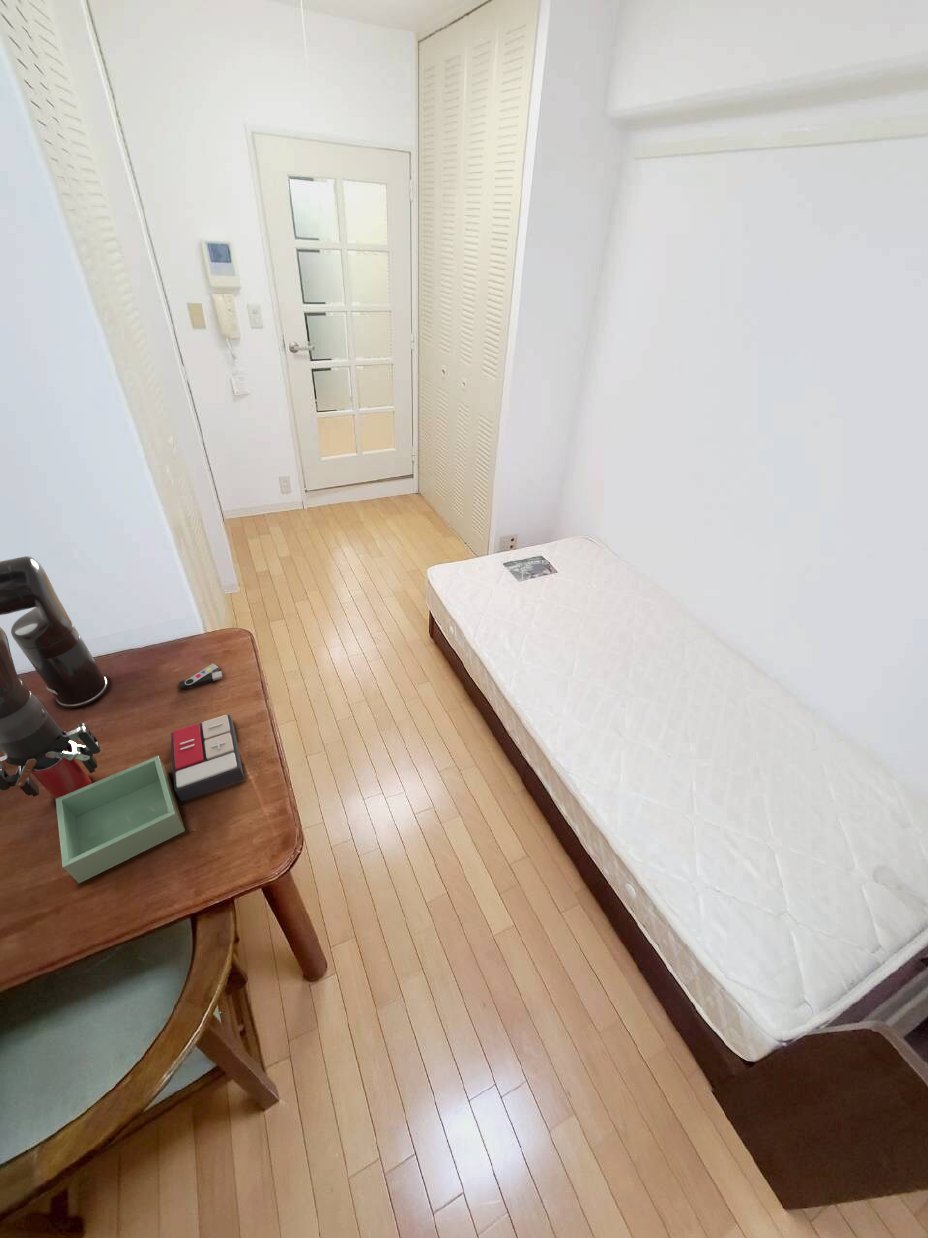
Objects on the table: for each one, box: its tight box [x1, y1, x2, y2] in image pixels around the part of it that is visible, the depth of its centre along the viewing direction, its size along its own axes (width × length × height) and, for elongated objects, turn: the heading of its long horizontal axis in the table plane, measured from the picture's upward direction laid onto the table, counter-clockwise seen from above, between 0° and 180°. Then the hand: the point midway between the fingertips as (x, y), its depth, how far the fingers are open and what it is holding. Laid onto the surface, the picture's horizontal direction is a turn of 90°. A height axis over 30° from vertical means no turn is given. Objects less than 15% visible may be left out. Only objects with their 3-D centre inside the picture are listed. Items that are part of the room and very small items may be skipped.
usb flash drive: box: [178, 663, 223, 691], centre depth 114 cm, size 9×5×1 cm, turn 117°
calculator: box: [170, 714, 245, 802], centre depth 97 cm, size 11×4×15 cm
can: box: [31, 748, 93, 801], centre depth 89 cm, size 6×6×10 cm
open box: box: [55, 755, 186, 884], centre depth 86 cm, size 14×16×6 cm
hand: (65, 780), depth 90 cm, fingers open, 8 cm apart
